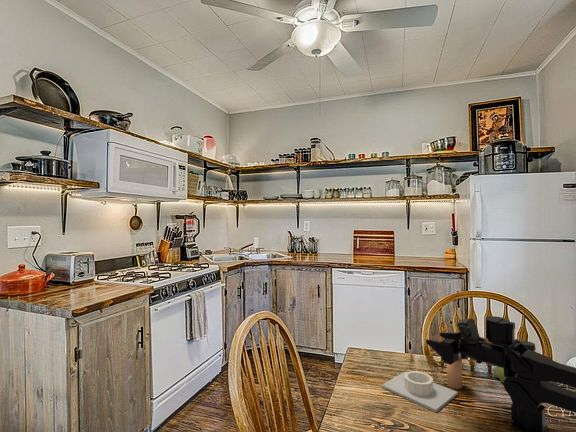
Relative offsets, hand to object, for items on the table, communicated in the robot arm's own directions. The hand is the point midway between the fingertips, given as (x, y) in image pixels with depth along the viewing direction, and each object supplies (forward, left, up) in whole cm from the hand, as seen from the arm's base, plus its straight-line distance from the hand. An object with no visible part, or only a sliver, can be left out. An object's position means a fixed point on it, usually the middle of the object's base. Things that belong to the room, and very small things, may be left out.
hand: (433, 337), depth 104 cm
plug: (-3, -7, -17) cm, 18 cm away
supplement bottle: (-17, -30, -17) cm, 39 cm away
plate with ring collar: (+3, +5, -17) cm, 18 cm away
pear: (-13, -22, -17) cm, 31 cm away
